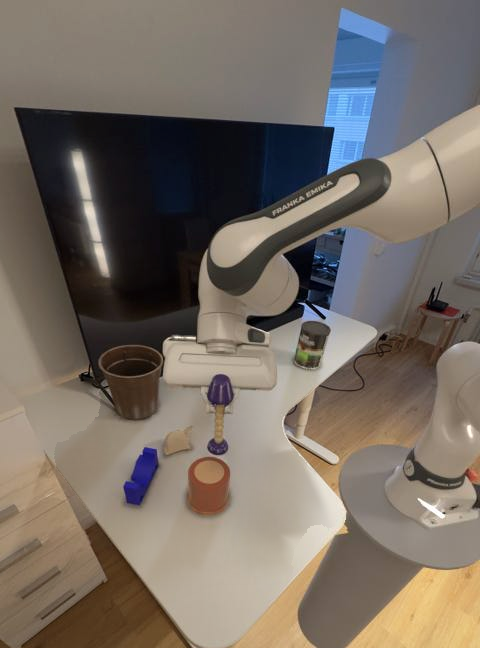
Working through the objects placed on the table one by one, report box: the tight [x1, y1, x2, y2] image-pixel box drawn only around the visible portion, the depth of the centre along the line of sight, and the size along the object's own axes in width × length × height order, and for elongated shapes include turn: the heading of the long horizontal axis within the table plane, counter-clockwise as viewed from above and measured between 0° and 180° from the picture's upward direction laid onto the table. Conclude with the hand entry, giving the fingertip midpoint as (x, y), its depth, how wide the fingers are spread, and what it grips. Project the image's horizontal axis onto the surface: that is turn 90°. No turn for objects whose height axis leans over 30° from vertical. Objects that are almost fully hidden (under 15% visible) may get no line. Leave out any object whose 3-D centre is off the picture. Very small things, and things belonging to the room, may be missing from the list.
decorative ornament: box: [163, 425, 194, 456], centre depth 89 cm, size 4×8×5 cm, turn 115°
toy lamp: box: [206, 374, 234, 456], centre depth 62 cm, size 5×5×17 cm
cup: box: [186, 456, 231, 516], centre depth 76 cm, size 10×10×9 cm
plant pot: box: [98, 344, 164, 421], centre depth 95 cm, size 16×16×16 cm
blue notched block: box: [122, 446, 160, 507], centre depth 79 cm, size 12×4×6 cm, turn 170°
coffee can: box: [293, 320, 332, 371], centre depth 123 cm, size 10×10×14 cm
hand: (219, 413), depth 61 cm, fingers closed on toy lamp
